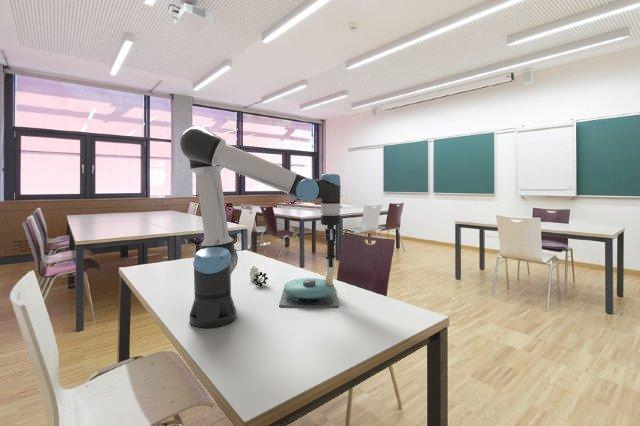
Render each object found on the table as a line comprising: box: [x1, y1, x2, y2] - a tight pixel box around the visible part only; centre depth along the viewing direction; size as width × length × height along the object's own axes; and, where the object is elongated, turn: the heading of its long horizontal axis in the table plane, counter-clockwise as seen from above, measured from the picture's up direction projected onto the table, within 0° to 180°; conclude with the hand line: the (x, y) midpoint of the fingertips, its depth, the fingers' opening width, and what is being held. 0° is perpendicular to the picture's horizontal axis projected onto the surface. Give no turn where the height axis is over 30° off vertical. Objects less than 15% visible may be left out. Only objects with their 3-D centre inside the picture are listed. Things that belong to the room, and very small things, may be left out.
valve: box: [249, 265, 269, 287], centre depth 154 cm, size 7×7×12 cm
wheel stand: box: [278, 286, 339, 308], centre depth 135 cm, size 22×22×3 cm
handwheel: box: [283, 271, 335, 299], centre depth 135 cm, size 20×20×7 cm
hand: (330, 274), depth 130 cm, fingers closed
